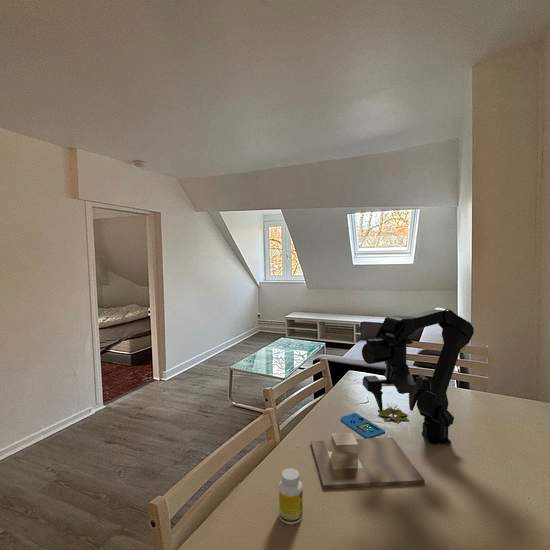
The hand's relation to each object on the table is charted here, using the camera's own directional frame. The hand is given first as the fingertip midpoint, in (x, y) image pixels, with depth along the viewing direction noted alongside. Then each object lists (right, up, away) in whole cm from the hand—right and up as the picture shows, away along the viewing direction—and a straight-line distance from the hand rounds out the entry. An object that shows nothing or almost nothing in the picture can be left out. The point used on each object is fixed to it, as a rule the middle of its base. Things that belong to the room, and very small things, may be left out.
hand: (396, 410), depth 98 cm
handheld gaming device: (-7, -12, +15) cm, 20 cm away
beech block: (-17, -6, -5) cm, 18 cm away
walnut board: (-12, -13, -5) cm, 18 cm away
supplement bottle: (-33, -14, -24) cm, 43 cm away
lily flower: (+7, -12, +22) cm, 26 cm away
